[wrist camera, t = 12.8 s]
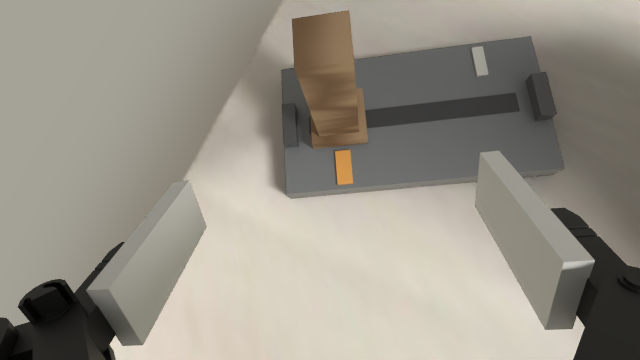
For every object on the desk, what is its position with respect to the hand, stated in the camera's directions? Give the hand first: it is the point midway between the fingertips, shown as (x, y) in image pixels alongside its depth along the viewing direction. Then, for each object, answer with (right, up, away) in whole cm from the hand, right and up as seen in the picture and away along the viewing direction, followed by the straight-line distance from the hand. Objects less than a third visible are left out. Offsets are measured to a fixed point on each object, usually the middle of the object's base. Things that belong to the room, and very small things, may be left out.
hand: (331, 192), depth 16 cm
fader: (+1, +6, +17) cm, 18 cm away
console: (+8, +6, +19) cm, 21 cm away
